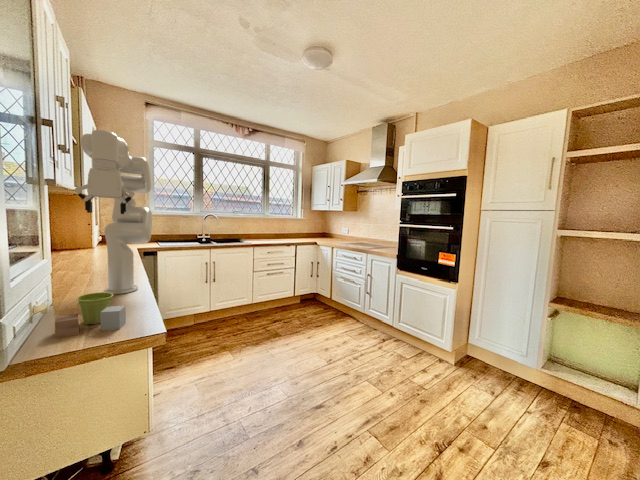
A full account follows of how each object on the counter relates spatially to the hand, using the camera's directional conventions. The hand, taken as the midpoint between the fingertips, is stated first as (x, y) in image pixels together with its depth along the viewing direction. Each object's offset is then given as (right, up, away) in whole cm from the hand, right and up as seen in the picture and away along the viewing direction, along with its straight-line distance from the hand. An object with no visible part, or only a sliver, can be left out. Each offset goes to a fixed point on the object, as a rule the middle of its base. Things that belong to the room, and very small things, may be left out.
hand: (106, 213), depth 98 cm
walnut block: (+3, -38, -18) cm, 42 cm away
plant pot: (+3, -38, -9) cm, 39 cm away
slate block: (+12, -38, -12) cm, 42 cm away
